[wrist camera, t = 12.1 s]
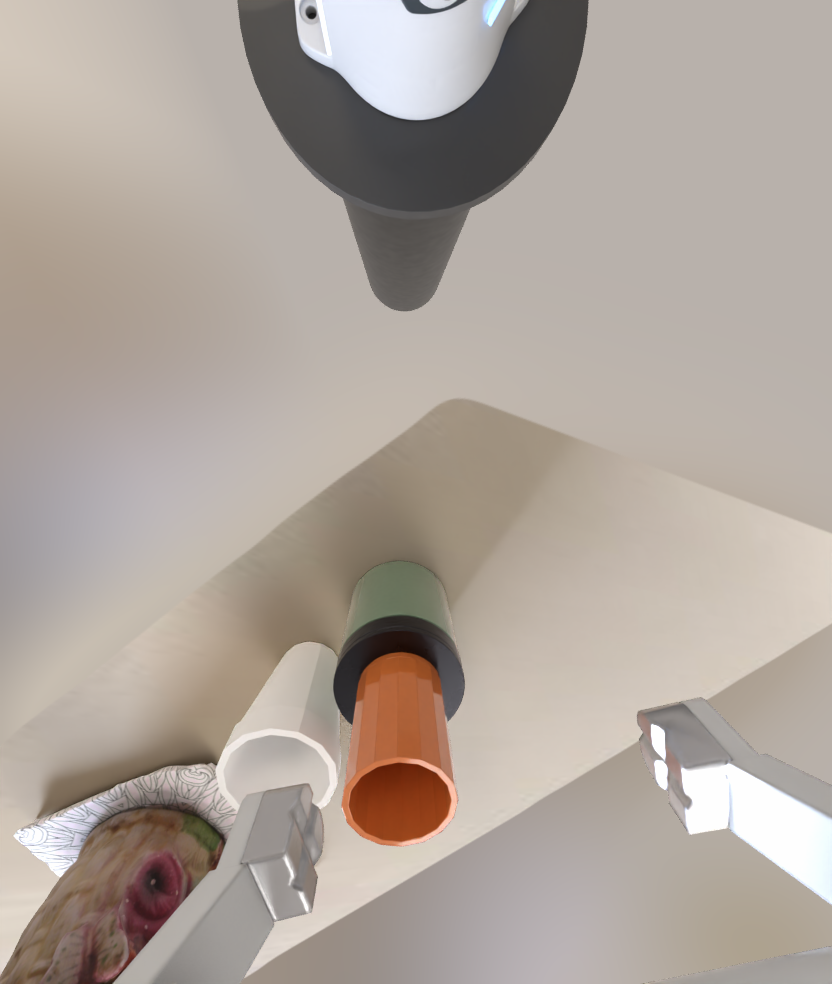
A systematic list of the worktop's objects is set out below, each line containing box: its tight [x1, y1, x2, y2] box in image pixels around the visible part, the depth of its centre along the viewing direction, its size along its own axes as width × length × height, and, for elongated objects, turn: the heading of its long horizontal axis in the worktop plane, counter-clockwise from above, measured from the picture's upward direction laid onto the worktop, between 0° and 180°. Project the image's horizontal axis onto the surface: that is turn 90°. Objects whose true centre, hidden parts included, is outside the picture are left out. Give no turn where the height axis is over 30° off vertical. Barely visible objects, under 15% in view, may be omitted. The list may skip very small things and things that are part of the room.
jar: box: [340, 561, 459, 653], centre depth 38 cm, size 10×10×12 cm
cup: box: [341, 652, 458, 846], centre depth 28 cm, size 6×6×9 cm
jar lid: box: [333, 616, 465, 725], centre depth 33 cm, size 10×10×2 cm
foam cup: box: [215, 641, 341, 811], centre depth 39 cm, size 10×9×13 cm
